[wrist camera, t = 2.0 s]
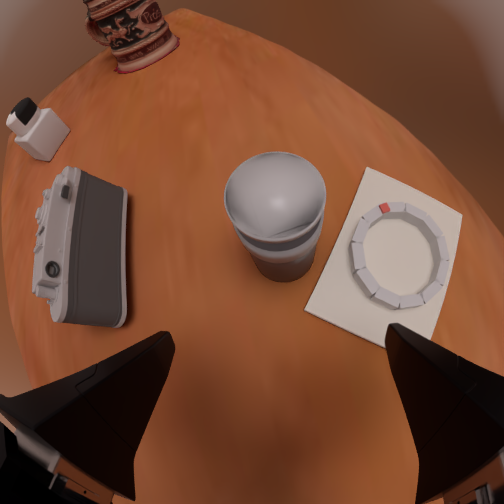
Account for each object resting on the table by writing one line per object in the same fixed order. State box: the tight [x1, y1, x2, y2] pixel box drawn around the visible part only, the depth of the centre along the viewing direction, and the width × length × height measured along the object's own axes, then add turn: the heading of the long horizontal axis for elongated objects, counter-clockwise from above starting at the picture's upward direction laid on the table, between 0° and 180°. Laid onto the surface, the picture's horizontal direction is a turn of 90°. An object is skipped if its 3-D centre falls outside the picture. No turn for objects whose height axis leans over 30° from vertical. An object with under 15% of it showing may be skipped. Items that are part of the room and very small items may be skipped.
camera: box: [32, 166, 127, 328], centre depth 24 cm, size 9×16×10 cm, turn 10°
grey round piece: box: [224, 152, 326, 282], centre depth 21 cm, size 6×6×11 cm
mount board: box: [304, 167, 462, 349], centre depth 23 cm, size 16×12×3 cm
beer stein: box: [83, 0, 180, 73], centre depth 31 cm, size 17×28×18 cm
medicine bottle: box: [6, 98, 70, 161], centre depth 33 cm, size 7×7×12 cm
